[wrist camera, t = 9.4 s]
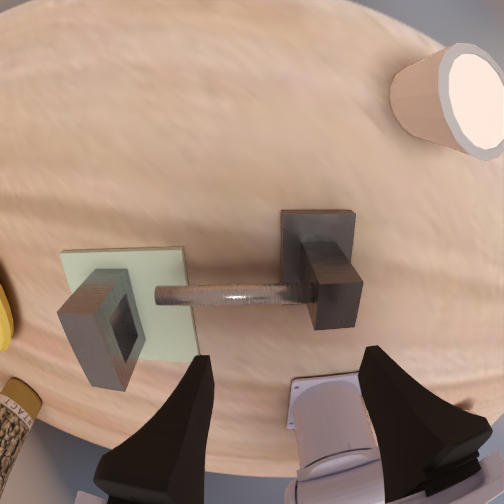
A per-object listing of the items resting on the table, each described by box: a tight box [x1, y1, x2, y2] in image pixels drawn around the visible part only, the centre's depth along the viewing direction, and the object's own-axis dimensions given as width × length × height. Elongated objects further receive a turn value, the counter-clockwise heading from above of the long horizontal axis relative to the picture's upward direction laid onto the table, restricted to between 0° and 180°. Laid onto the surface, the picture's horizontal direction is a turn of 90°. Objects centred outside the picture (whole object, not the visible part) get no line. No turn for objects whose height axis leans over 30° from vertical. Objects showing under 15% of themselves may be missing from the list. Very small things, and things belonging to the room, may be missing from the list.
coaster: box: [59, 247, 200, 362], centre depth 23 cm, size 11×11×1 cm
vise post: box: [154, 210, 363, 330], centre depth 18 cm, size 7×13×7 cm, turn 91°
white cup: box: [389, 43, 504, 161], centre depth 13 cm, size 7×7×7 cm
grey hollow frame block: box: [57, 269, 146, 392], centre depth 19 cm, size 7×3×6 cm, turn 1°
